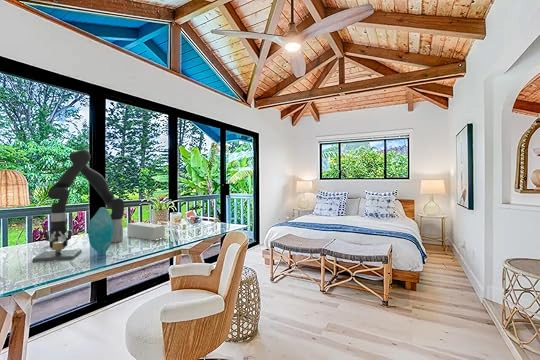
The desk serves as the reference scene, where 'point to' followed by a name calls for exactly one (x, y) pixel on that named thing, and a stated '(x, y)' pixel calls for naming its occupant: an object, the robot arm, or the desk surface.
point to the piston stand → (57, 255)
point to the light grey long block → (145, 230)
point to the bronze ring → (58, 245)
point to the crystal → (100, 231)
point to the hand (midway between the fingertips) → (58, 247)
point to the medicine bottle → (60, 238)
